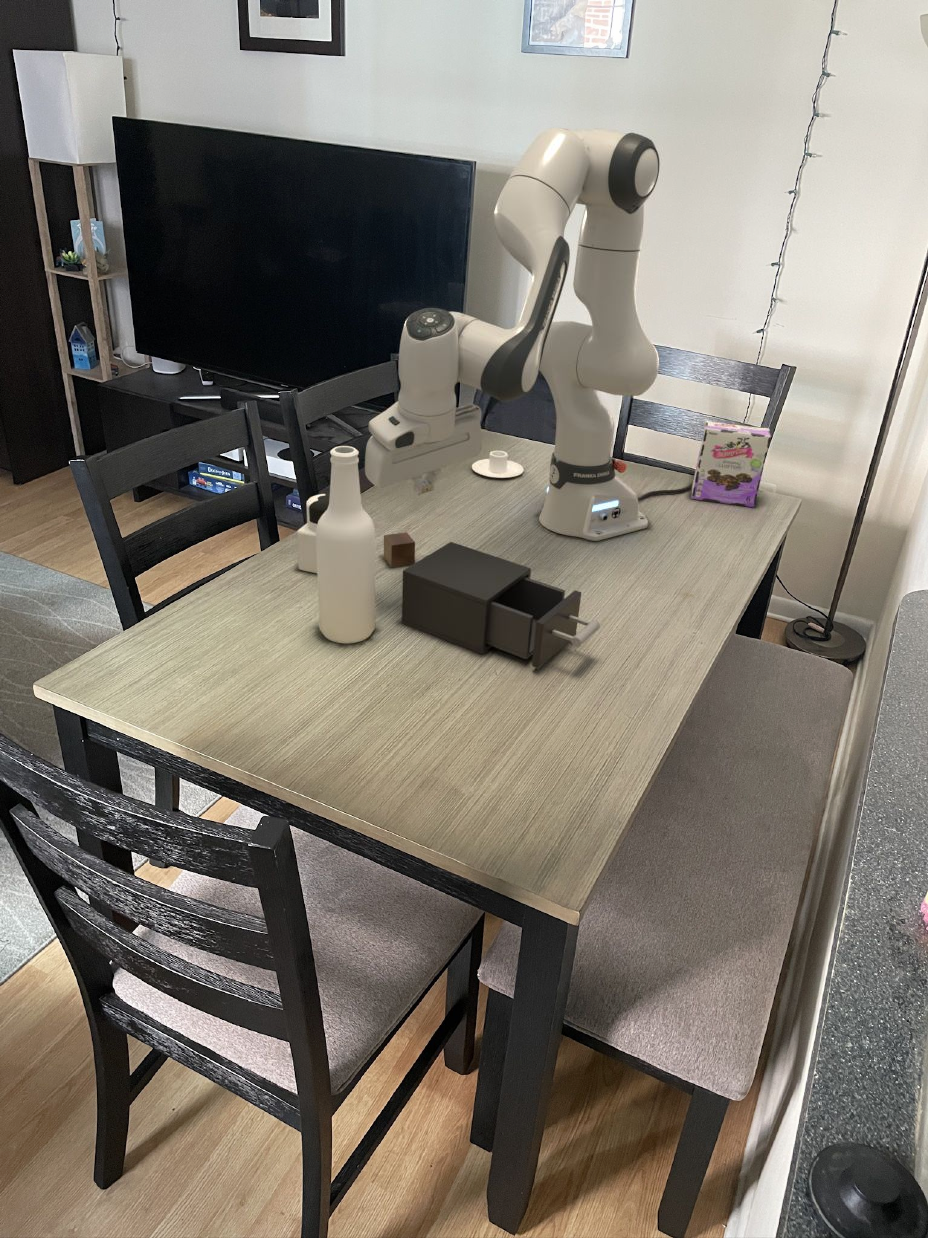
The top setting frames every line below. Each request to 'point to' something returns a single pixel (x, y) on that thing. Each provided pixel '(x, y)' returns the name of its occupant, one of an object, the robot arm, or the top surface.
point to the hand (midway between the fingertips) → (423, 490)
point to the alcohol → (345, 556)
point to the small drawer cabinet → (456, 593)
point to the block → (399, 549)
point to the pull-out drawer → (536, 621)
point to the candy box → (730, 463)
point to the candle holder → (497, 466)
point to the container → (311, 533)
